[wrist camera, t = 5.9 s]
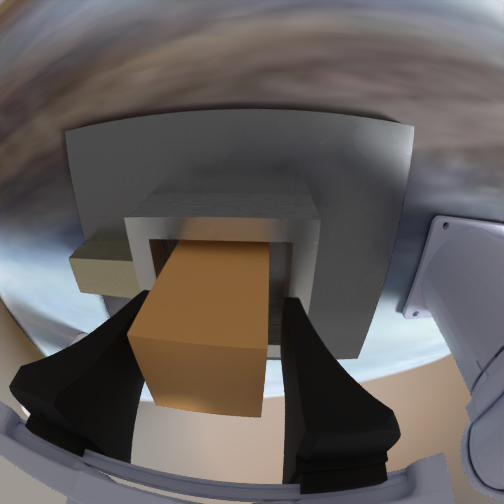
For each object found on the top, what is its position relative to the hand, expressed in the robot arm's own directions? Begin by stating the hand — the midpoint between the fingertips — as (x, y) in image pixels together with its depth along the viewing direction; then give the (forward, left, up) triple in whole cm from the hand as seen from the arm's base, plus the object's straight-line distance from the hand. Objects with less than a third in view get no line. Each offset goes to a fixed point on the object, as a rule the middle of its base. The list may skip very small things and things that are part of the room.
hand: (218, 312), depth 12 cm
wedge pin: (0, 0, -4) cm, 4 cm away
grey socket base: (0, 0, -5) cm, 5 cm away
